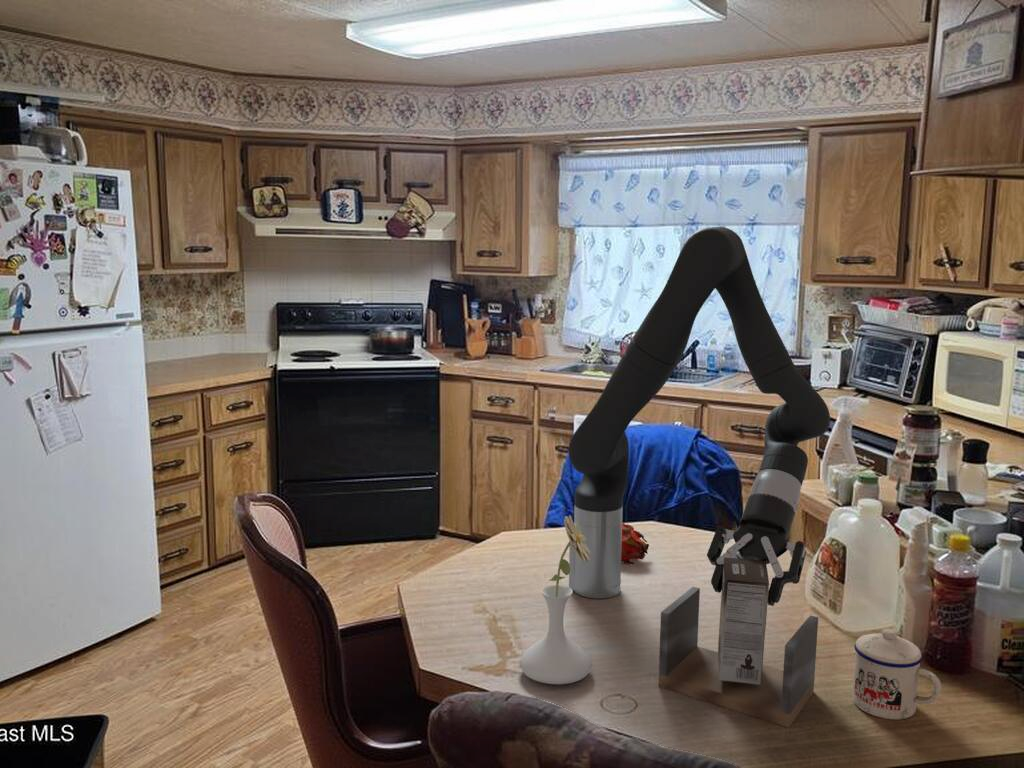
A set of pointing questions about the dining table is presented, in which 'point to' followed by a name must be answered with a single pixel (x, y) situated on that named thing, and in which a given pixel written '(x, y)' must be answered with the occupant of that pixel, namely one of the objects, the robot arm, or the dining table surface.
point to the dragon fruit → (632, 545)
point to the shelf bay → (700, 679)
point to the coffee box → (742, 620)
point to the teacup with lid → (889, 676)
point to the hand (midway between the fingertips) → (742, 596)
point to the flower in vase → (559, 627)
